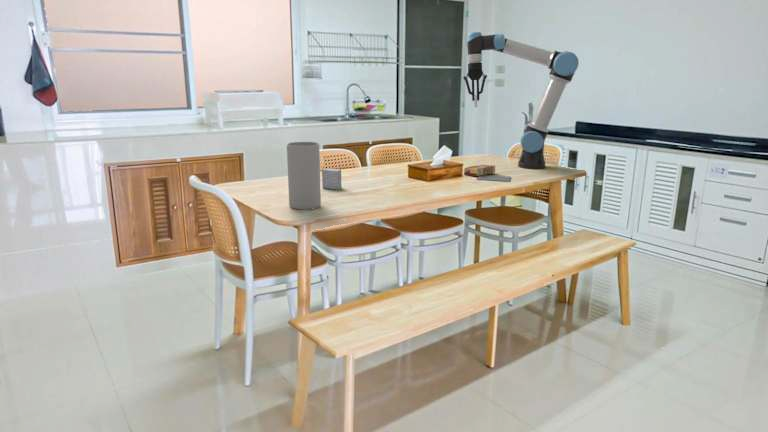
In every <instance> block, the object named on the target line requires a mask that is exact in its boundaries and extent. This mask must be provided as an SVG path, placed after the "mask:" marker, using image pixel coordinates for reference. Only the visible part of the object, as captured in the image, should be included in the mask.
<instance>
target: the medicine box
mask: <svg viewBox="0 0 768 432" xmlns="http://www.w3.org/2000/svg"><path fill="white" fill-rule="evenodd" d="M321 178H322V179H321V180H322V181H321V182H322V189H325V188H330V189H329V190H339V189H341V188H342V170H341V169H338V168H337V169H336V168H324V169H322V170H321Z"/></svg>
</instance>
